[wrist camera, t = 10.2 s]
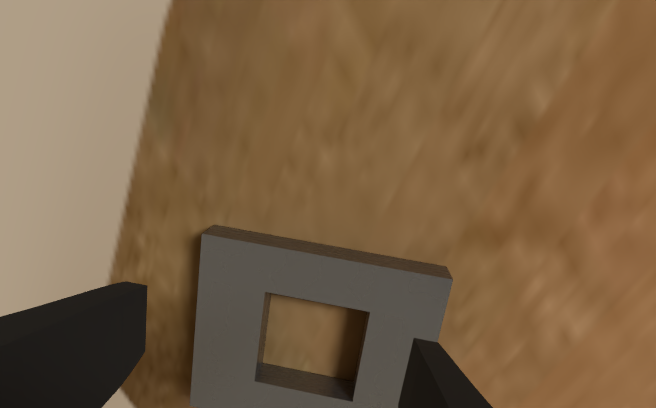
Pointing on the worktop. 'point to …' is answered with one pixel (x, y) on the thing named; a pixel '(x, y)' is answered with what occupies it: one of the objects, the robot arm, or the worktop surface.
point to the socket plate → (315, 285)
